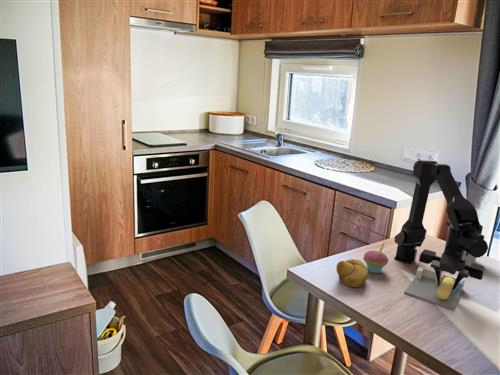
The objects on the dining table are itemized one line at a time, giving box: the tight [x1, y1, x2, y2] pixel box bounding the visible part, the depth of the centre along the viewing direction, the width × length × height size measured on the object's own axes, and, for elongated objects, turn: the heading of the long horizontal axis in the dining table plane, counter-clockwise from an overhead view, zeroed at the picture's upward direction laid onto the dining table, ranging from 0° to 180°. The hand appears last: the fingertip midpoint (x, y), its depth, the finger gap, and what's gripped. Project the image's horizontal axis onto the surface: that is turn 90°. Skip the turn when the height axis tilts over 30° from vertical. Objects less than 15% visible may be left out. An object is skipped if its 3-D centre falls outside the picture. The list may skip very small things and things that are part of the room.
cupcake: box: [362, 241, 389, 274], centre depth 151 cm, size 9×8×12 cm
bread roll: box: [336, 259, 369, 288], centre depth 143 cm, size 13×10×8 cm
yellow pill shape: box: [436, 277, 455, 300], centre depth 139 cm, size 14×4×4 cm, turn 145°
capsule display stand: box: [403, 265, 466, 311], centre depth 141 cm, size 15×17×4 cm
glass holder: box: [461, 224, 484, 266], centre depth 164 cm, size 9×14×15 cm, turn 133°
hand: (445, 287), depth 139 cm, fingers open, 4 cm apart
